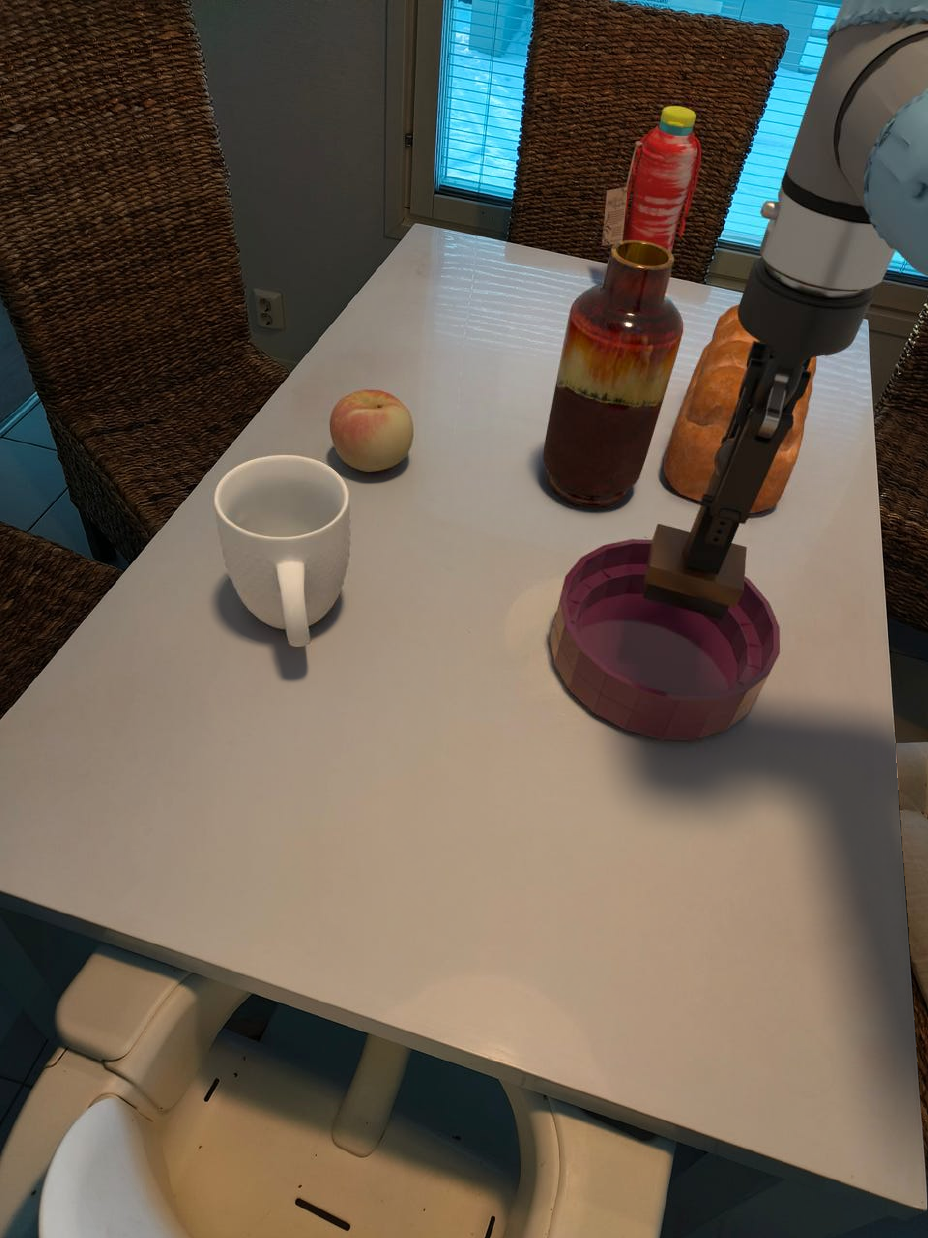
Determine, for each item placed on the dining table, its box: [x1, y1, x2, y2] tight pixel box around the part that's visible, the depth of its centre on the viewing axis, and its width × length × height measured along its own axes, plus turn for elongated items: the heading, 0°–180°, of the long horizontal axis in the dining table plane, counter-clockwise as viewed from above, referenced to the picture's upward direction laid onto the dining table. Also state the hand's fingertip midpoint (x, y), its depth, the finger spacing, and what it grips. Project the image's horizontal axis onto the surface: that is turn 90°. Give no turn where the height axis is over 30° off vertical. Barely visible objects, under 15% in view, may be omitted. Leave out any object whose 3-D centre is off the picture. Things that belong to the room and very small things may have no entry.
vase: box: [542, 240, 684, 509], centre depth 86 cm, size 11×11×26 cm
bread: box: [662, 304, 818, 514], centre depth 98 cm, size 14×26×16 cm, turn 159°
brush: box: [643, 438, 748, 620], centre depth 67 cm, size 8×6×15 cm
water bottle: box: [601, 105, 702, 254], centre depth 120 cm, size 12×8×25 cm, turn 74°
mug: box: [213, 454, 351, 648], centre depth 73 cm, size 15×11×13 cm
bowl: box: [549, 538, 781, 740], centre depth 76 cm, size 19×19×6 cm
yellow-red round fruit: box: [329, 389, 414, 473], centre depth 92 cm, size 9×9×8 cm
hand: (704, 553), depth 69 cm, fingers closed on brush, 3 cm apart
